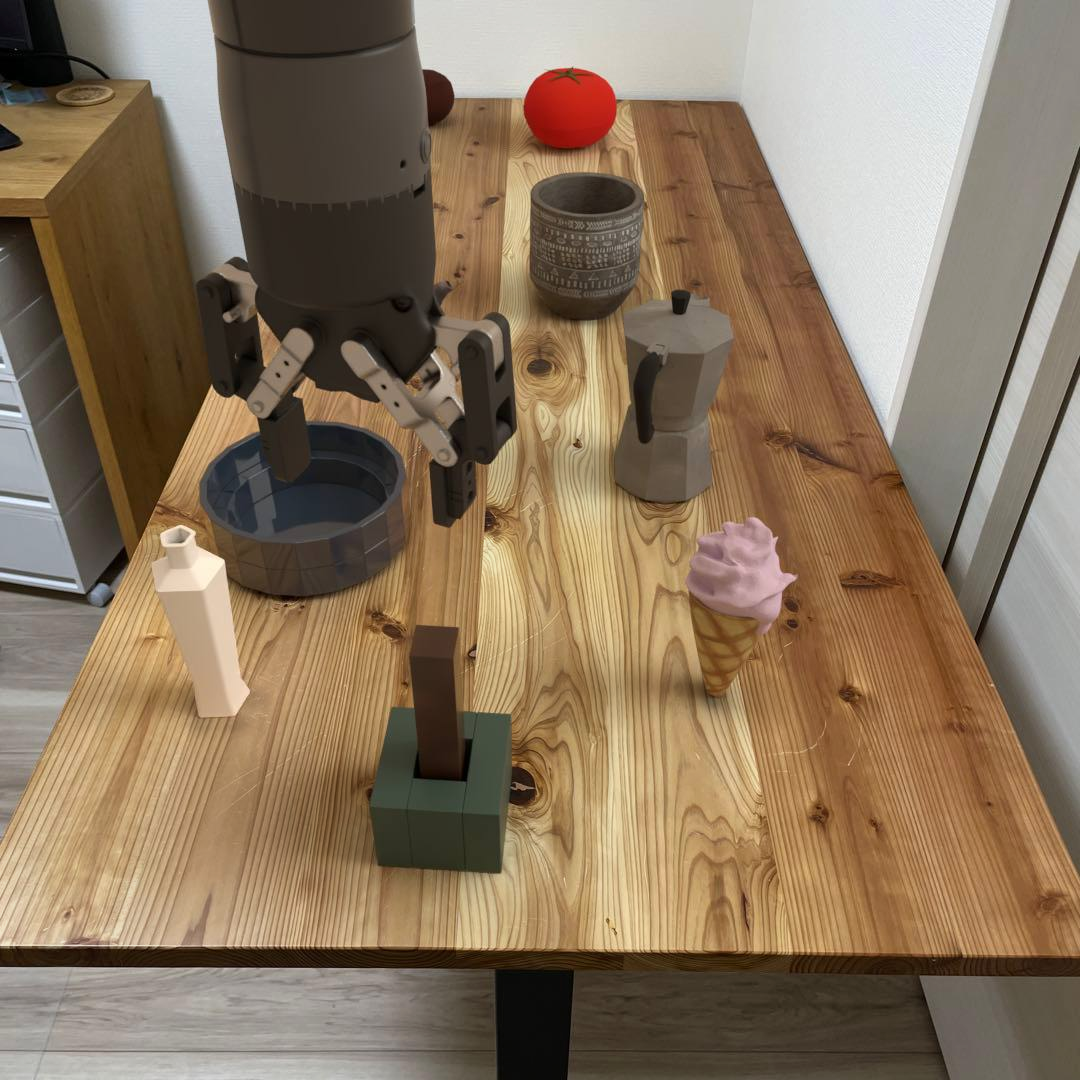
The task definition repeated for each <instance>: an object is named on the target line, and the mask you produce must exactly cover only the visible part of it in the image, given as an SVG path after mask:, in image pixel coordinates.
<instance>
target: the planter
mask: <svg viewBox="0 0 1080 1080" xmlns="http://www.w3.org/2000/svg"><path fill="white" fill-rule="evenodd" d="M529 195H530V197H529V198H530V199H529V200H530V202H529V203H530V208H529V257H528V259H529V262H528V263H529V277H530V280H531V282H532V284H533V286H534V288H535V290H536V292H537V293H538V294H539V296H540V298H541V299H542V300H543V302H544V303H545V305H546V306H547V307H548V309H549V310H550V311H552V312H553V313H554V314H556V315H558V316H560V317H563V318H566V319H569V320H570V319H571V320H577V321H591V320H598V319H602V318H606V317H609V316H610V315H613V314H614V313H616V311H617V310H618V309H619V308H620V306H622V304H623V303H624V302H625V301H626V299H627V297H629V295H630V294H631V292H632V291H633V289H634V288H635V286H636V285H637V283H638V281H639V275H640V266H641V246H642V235H643V234H642V233H643V224H644V223H643V221H644V206H645V205H644V204H645V193H644V190H643V189H642V188H641V186H639V184H638V183H636V182H634V181H633V180H630V179H628V178H625V177H623V176H620V175H616V174H610V173H605V172H604V173H601V172H591V171H590V172H589V171H577V172H576V171H574V172H572V171H571V172H562V173H557V174H555V175H551V176H548V177H546V178H544V179H541V180H539V181H538V182H536V183H535V184H534V185H532V187H531V189H530V193H529Z"/></svg>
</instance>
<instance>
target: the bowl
mask: <svg viewBox="0 0 1080 1080" xmlns="http://www.w3.org/2000/svg"><path fill="white" fill-rule="evenodd" d="M306 425H307V431H308V437H309V444H310V450H311V461H310V464H309V466H308V467H307V468H306V469H305V470H304V471H303V472H302V473H301V474H300V475H299V476H298V477H297V478H296V479H295V480H294V481H293V482H291V483H289V482H285V481H282V480H278V479H276V478H275V476H274V471H273V467H270V466H269V464H268V462H267V460H266V459H265V456H264V451H263V446H262V439H261V436H260V430H258V431H256V432H252V433H250V434H248V435H246V436H245V437H243V438H241V439H238V440H237V441H235V442H233V443H231V444H230V445H228V446H226V447H225V448H223V450H222V451H221V452H220V453H219V454H218V455H217V456H215V457H214V458H213V459H212V460H211V461H210V462H209V463H208V464H207V466H206V468H205V470H204V472H203V474H202V476H201V478H200V480H199V482H198V494H199V495H198V498H199V499H198V500H199V501H198V502H199V505H200V509H201V514H202V518H203V522H204V526H205V530H206V534H207V539H208V541H209V542H208V543H209V546H210V550H211V553H212V554H214V555H216V556H218V557H220V558H222V559H223V560H224V561H225V568H226V575H227V577H230V578H231V579H233V580H234V581H236V582H237V583H239V584H240V585H241V586H243V587H246V588H250V589H252V590H256V591H260V592H262V593H265V594H268V595H274V596H275V595H276V596H294V597H308V596H309V597H310V596H314V595H315V596H316V595H323V594H328V593H334V592H335V593H336V592H338V591H342V590H344V589H346V588H350V587H351V586H354V585H357V584H359V583H362V582H364V581H367V580H369V579H370V578H372V577H373V576H374V575H376V574H377V573H379V572H380V571H382V570H383V569H385V568H386V567H388V566H389V565H390V564H392V563H393V561H394V560H395V559H396V557H397V556H398V554H400V552H401V551H402V549H403V548H404V547H405V545H406V544H407V541H408V536H409V532H410V528H411V525H412V524H411V523H412V522H411V513H410V512H411V511H410V501H409V500H410V499H409V489H408V477H407V471H406V467H405V463H404V459H403V456H402V454H401V453H400V452H399V451H398V450H397V448H396V447H395V446H394V445H393V444H392V443H391V442H390V440H388V439H387V438H386V437H383V436H382V435H380V434H378V433H376V432H374V431H373V430H371V429H368V428H366V427H363V426H362V427H361V426H358V425H354V424H349V423H345V422H342V421H327V420H326V421H325V420H323V421H322V420H306Z"/></svg>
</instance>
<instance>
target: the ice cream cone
mask: <svg viewBox="0 0 1080 1080" xmlns="http://www.w3.org/2000/svg"><path fill="white" fill-rule="evenodd" d="M721 526H722V530H719V531H712V532H708V533H706V534H703V535H700V536H698V537H696V538H695V539H696V540H695V542H696V544H697V545H698V549H697V551H696V552H695V554H694V555H692V556H691V558H690V559H689V562H688V563H689V564H688V565H689V567H690V570H689V571H688V573H687V575H686V578H685V586H686V588H687V591H688V600H689V601H688V602H689V610H690V619H691V625H692V632H693V637H694V643H695V647H696V652H697V656H698V661H699V665H700V669H701V673H702V677H703V681H704V686H705V689H706V690H705V691H706V692H707V693H708V694H709V695H710V696H711V697H715V698H720V697H722V696H724V695H725V694H726V692H727V691H728V690H729V688H730V687H731V685H732V683H733V682H734V680H735V679H736V678H737V676H738V675H739V673H740V671H741V669H742V668H743V666H744V665H745V663H746V662H747V660H748V659H749V657H750V656H751V654H752V652H753V651H754V649H755V648H756V646H757V644H758V642H759V640H760V638H761V637H762V635H765V634H766V633H767V632H768V631H770V629H771V627H772V623H773V622H774V621H776V620H777V619H778V617H779V615H780V613H781V608H782V600H783V591H784V590H785V589H786V588H787V587H788V586H789V585H790V584H791V583H793V582H795V581H796V580H797V579H798V576H799V573H796V574H792V573H789V572H785V573H784V572H783V571H782V570H781V566H780V556H779V555H778V554H777V552H776V544H777V541H778V539H779V536H775V537H774V536H773V532H772V530H771V529H770V528H769V527H768V526H766V525H765V524H764V522H763V521H762V520H760V519H759V518H757V517H754V516H749V517H747V518H746V519H745V523H737V522H732V521H729V520H728V521H724V522H723V523H722V524H721Z"/></svg>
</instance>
